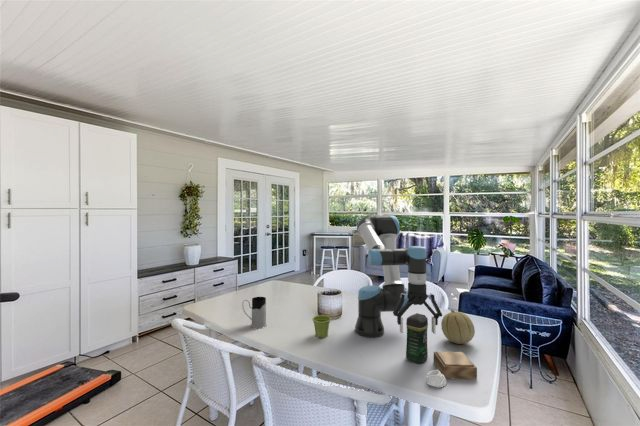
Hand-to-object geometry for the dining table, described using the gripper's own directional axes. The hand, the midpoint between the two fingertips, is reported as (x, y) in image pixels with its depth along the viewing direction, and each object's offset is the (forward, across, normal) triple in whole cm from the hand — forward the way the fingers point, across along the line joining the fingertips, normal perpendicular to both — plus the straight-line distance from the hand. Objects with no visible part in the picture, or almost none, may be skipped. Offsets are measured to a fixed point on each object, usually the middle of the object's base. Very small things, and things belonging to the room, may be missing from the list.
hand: (417, 332), depth 126 cm
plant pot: (+11, -42, +22) cm, 49 cm away
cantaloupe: (+11, +24, +18) cm, 32 cm away
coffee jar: (+12, 0, 0) cm, 12 cm away
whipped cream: (+12, +2, -18) cm, 21 cm away
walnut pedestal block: (+12, +12, -8) cm, 19 cm away
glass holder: (+11, -80, +34) cm, 88 cm away
